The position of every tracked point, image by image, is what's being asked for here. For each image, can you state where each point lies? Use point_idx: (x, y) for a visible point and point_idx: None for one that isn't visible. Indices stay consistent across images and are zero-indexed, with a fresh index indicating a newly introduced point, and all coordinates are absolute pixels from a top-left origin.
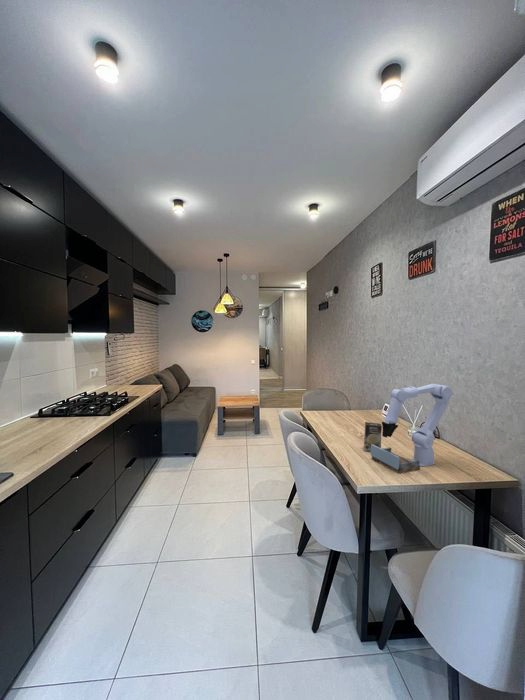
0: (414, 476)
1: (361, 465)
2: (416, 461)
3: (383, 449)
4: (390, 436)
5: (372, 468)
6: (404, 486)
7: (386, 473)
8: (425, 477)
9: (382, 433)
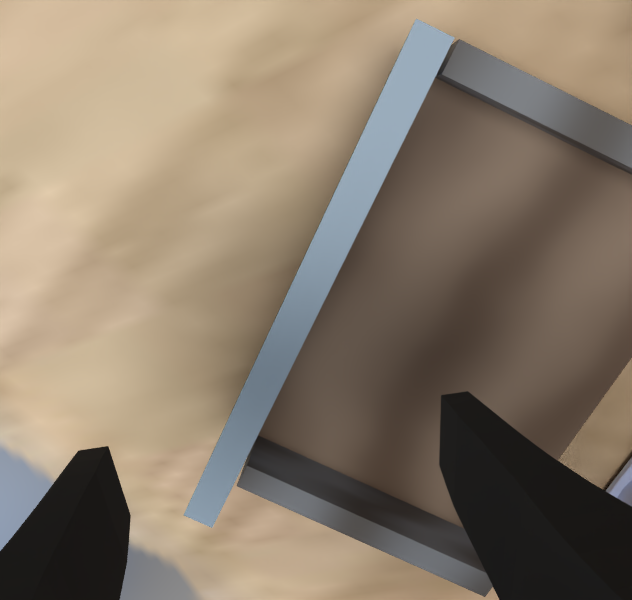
0: (288, 529)
1: (120, 62)
2: (449, 579)
3: (330, 287)
4: (445, 477)
5: (148, 194)
6: None
7: (151, 342)
8: (338, 592)
9: (48, 492)
